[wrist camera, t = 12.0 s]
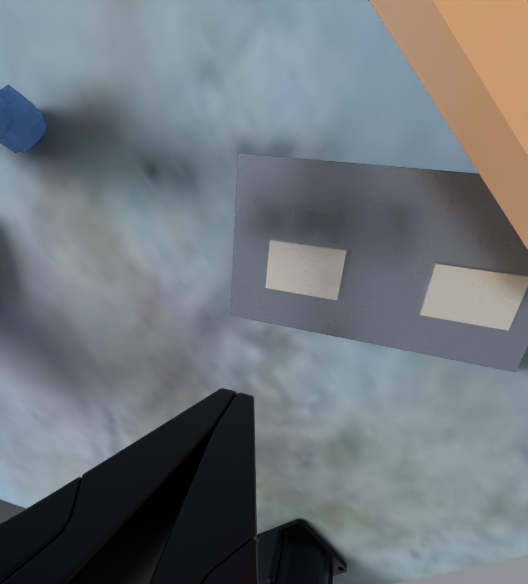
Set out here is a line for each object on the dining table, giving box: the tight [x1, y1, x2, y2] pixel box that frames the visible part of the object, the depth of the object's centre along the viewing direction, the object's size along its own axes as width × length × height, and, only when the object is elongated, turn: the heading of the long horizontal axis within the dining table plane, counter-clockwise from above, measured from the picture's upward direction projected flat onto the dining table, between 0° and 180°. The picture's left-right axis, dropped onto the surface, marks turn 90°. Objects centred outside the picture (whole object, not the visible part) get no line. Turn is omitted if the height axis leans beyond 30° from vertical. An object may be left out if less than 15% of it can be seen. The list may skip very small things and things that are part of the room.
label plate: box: [230, 153, 528, 372], centre depth 18 cm, size 17×10×1 cm, turn 85°
